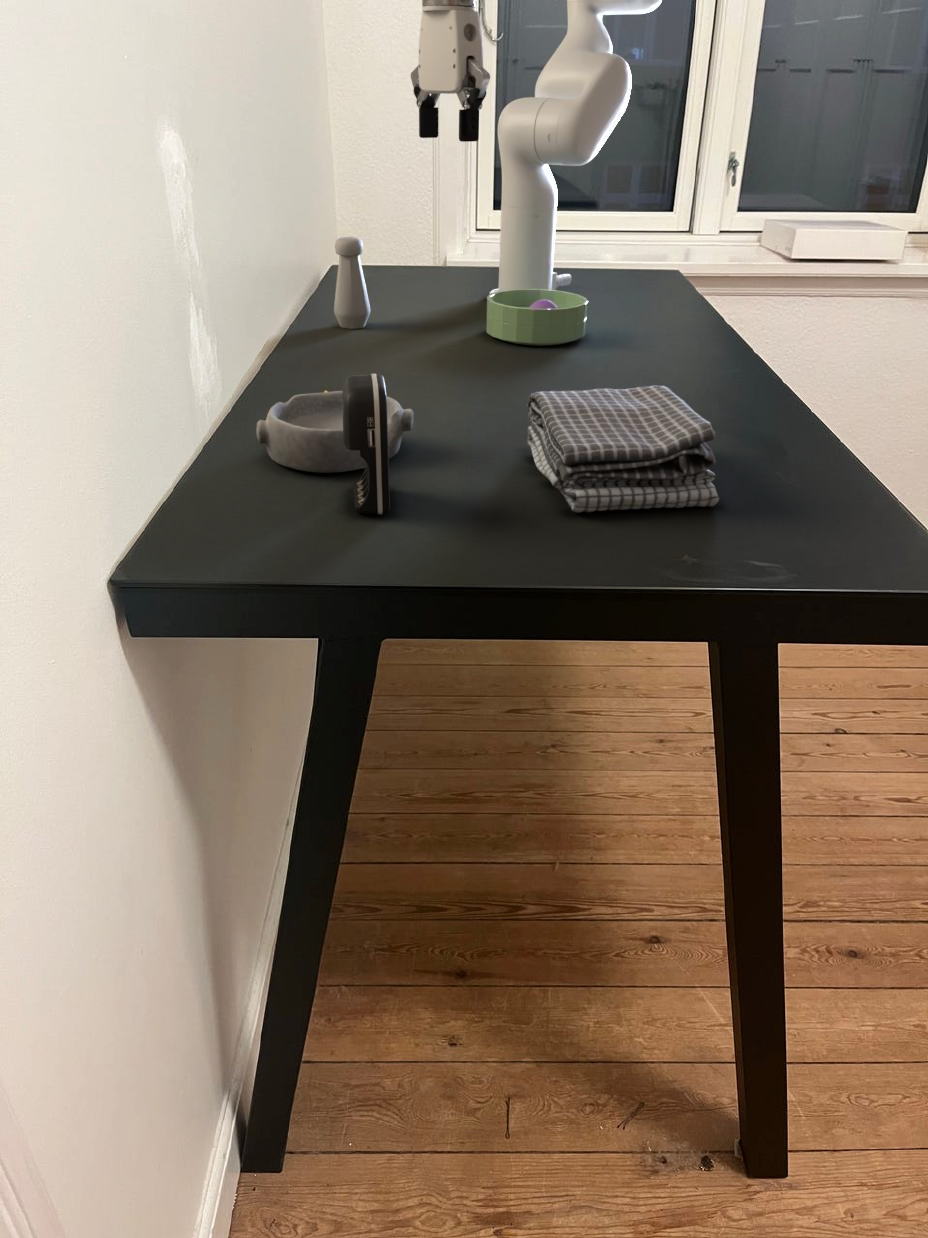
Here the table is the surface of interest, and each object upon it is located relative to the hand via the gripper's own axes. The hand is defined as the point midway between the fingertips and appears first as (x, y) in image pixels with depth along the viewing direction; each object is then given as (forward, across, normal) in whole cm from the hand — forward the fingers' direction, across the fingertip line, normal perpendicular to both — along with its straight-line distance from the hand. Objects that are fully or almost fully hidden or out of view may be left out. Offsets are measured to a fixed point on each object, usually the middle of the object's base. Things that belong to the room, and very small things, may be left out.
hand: (448, 139), depth 135 cm
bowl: (+26, -15, -6) cm, 31 cm away
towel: (+26, -64, +27) cm, 74 cm away
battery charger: (+26, -55, +50) cm, 79 cm away
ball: (+23, -16, -6) cm, 29 cm away
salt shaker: (+26, +6, +14) cm, 31 cm away
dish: (+26, -42, +46) cm, 68 cm away
